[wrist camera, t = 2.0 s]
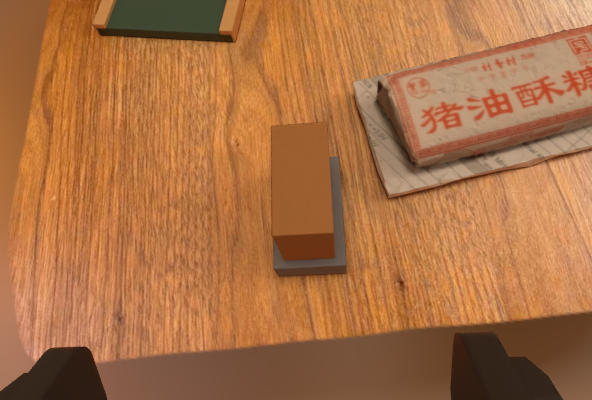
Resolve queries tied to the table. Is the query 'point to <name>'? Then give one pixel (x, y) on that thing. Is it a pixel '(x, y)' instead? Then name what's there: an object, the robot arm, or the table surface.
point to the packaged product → (480, 111)
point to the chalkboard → (170, 19)
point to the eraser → (306, 202)
